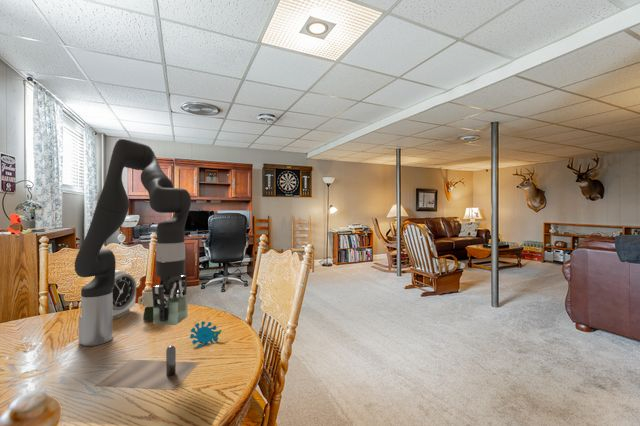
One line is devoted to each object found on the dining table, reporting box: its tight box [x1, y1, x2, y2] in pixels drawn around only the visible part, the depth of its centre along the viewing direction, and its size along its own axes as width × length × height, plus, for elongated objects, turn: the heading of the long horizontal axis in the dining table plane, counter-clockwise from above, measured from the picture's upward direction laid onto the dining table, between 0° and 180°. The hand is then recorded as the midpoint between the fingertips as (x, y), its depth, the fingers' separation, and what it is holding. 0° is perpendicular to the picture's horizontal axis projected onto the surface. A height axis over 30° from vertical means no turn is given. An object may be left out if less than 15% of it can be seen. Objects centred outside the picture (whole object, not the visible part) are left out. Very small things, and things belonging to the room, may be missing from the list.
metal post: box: [165, 345, 177, 377], centre depth 87 cm, size 2×2×8 cm
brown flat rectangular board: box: [95, 359, 200, 391], centre depth 88 cm, size 22×14×1 cm, turn 86°
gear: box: [189, 320, 223, 348], centre depth 110 cm, size 11×6×10 cm
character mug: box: [137, 287, 158, 322], centre depth 131 cm, size 11×7×13 cm, turn 145°
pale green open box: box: [152, 296, 189, 326], centre depth 87 cm, size 6×6×6 cm
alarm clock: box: [113, 269, 137, 320], centre depth 135 cm, size 18×8×20 cm, turn 170°
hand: (171, 316), depth 87 cm, fingers closed on pale green open box, 6 cm apart
